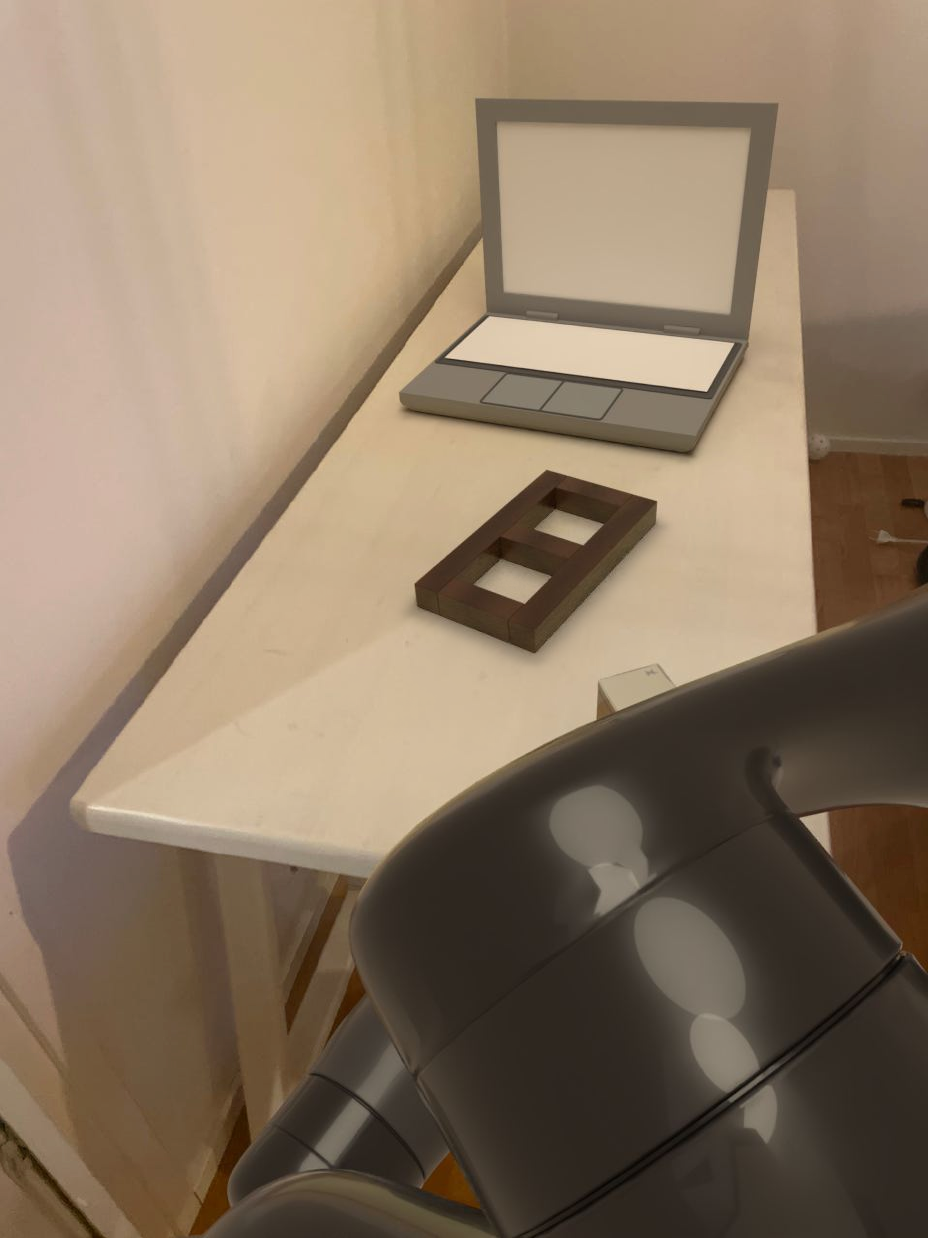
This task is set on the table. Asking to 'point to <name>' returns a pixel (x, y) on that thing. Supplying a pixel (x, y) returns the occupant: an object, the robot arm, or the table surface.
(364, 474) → the table surface
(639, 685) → the box
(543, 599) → the socket pad
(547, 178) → the laptop
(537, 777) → the robot arm
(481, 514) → the table surface
